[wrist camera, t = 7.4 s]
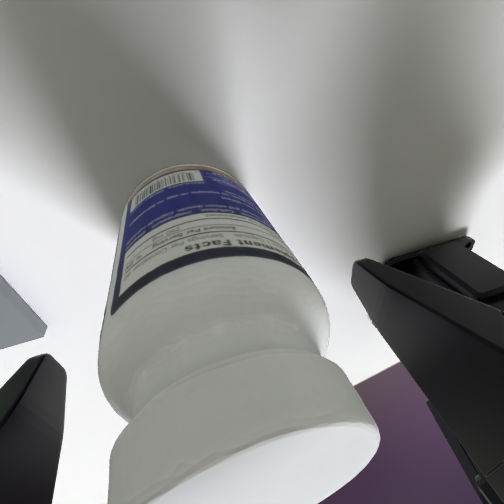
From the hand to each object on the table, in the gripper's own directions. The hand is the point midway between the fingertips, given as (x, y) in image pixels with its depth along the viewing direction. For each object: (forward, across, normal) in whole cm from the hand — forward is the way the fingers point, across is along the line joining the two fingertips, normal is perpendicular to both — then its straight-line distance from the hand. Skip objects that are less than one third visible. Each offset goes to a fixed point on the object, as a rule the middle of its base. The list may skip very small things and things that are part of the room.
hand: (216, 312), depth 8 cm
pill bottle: (+6, 0, 0) cm, 6 cm away
